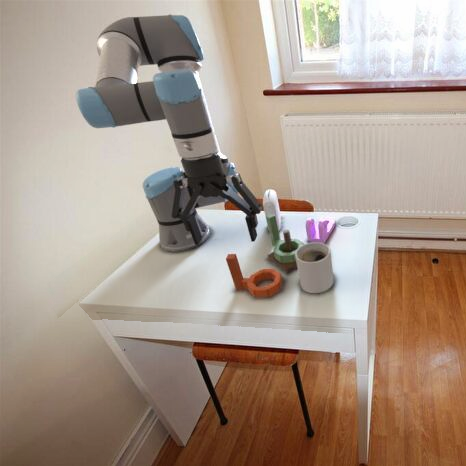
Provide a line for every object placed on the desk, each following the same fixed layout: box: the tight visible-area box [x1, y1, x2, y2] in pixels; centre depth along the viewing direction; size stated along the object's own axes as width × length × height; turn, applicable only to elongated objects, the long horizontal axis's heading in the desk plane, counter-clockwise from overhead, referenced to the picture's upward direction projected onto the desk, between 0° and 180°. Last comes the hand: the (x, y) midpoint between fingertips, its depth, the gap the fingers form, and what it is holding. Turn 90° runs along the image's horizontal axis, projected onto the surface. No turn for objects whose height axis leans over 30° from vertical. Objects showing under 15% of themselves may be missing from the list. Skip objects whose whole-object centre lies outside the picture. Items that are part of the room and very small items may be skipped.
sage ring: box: [265, 214, 304, 263], centre depth 94 cm, size 12×8×10 cm
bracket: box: [305, 217, 336, 244], centre depth 106 cm, size 13×6×7 cm, turn 163°
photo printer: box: [262, 189, 282, 231], centre depth 110 cm, size 10×4×12 cm, turn 8°
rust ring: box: [225, 253, 283, 299], centre depth 84 cm, size 12×8×10 cm
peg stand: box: [266, 229, 298, 274], centre depth 94 cm, size 10×10×10 cm
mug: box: [295, 242, 335, 294], centre depth 85 cm, size 11×10×10 cm
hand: (226, 240), depth 78 cm, fingers open, 13 cm apart
